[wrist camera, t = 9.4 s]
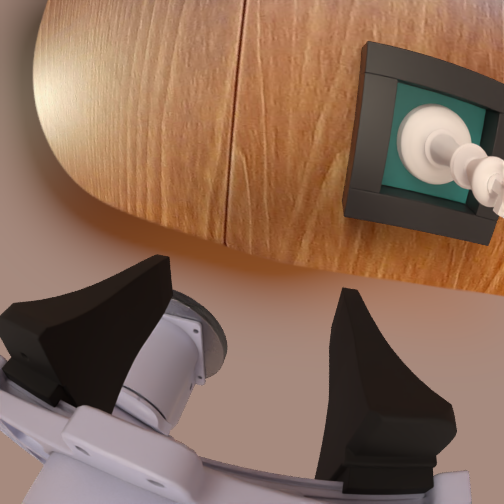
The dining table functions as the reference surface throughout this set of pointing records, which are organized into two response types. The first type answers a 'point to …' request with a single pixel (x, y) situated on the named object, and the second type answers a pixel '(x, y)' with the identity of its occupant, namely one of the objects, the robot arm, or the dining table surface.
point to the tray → (385, 143)
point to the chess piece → (449, 154)
